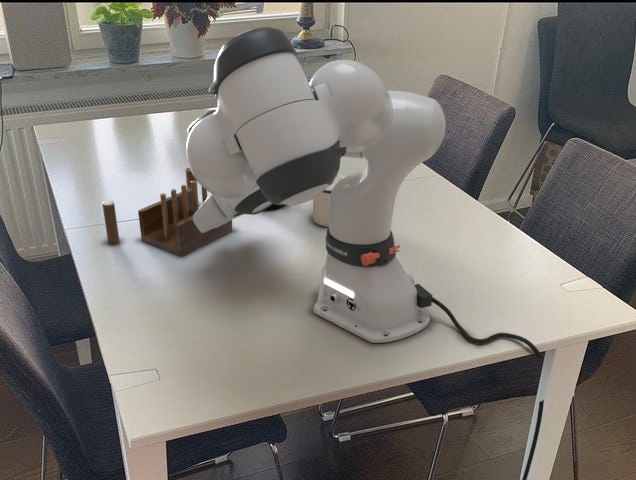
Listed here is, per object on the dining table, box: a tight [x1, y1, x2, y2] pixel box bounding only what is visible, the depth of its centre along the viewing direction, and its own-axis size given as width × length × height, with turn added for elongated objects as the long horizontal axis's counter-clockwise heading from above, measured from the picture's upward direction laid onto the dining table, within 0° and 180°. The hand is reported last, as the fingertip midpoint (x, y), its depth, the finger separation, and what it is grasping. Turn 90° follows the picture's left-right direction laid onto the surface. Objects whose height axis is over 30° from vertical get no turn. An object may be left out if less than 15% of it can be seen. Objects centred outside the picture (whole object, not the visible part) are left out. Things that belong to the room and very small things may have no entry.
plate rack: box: [137, 181, 233, 257], centre depth 163 cm, size 12×16×12 cm
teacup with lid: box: [312, 172, 346, 228], centre depth 171 cm, size 12×9×12 cm
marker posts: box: [101, 167, 200, 246], centre depth 168 cm, size 2×27×9 cm, turn 143°
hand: (218, 223), depth 157 cm, fingers closed
